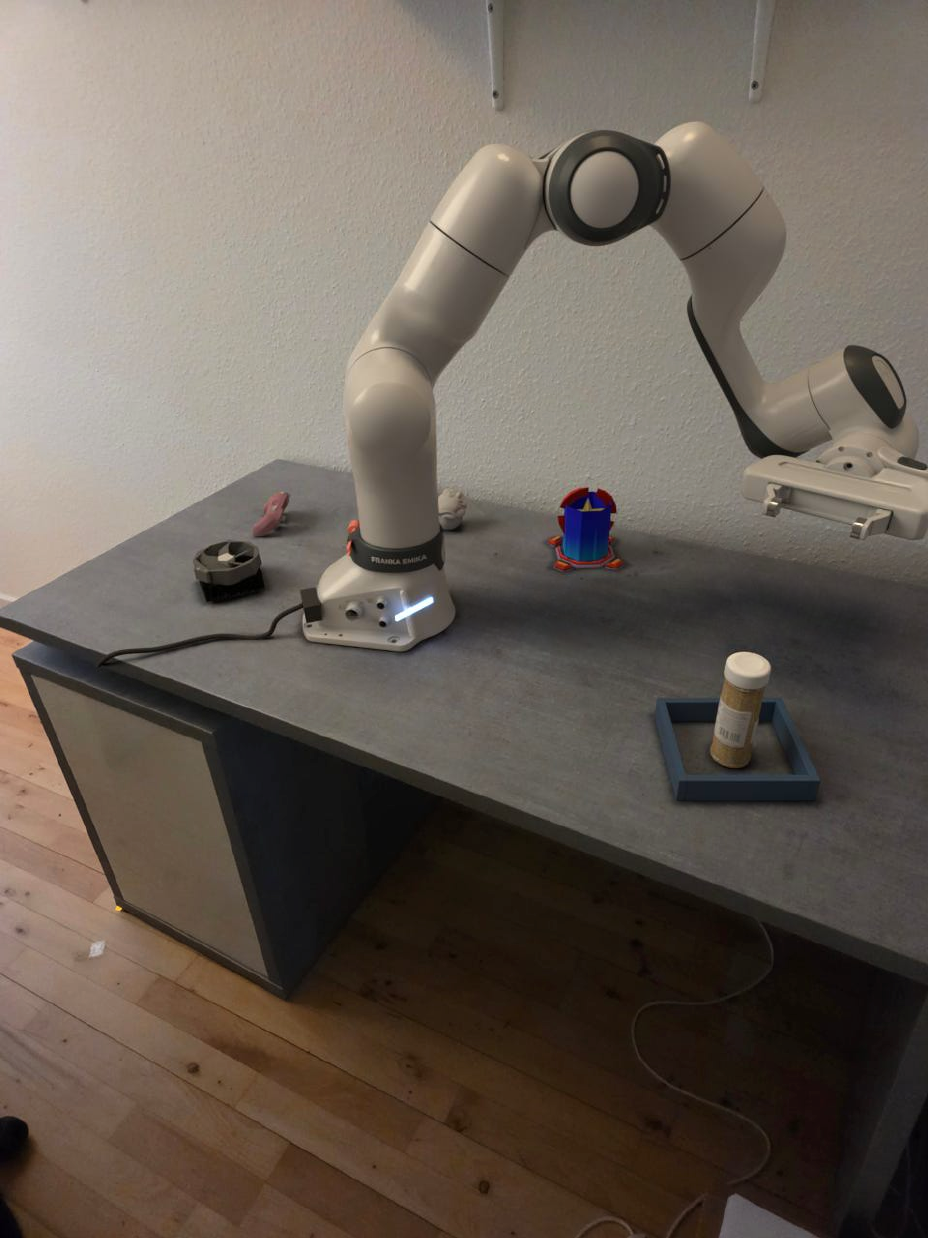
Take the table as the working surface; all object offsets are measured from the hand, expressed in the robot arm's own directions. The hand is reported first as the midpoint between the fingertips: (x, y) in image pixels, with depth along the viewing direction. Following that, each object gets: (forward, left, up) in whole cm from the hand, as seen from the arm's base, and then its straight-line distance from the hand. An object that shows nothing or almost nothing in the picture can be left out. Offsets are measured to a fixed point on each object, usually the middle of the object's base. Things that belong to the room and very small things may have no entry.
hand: (812, 521), depth 85 cm
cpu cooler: (-76, +29, -25) cm, 86 cm away
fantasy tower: (-19, +38, -25) cm, 50 cm away
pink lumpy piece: (-74, +50, -25) cm, 93 cm away
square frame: (-7, -10, -25) cm, 28 cm away
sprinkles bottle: (-7, -10, -25) cm, 28 cm away
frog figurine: (-42, +48, -25) cm, 69 cm away
